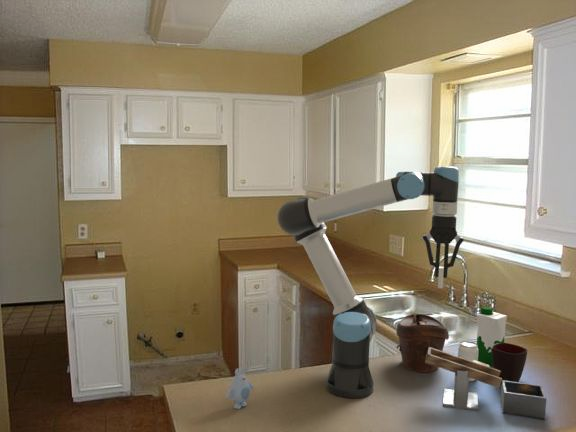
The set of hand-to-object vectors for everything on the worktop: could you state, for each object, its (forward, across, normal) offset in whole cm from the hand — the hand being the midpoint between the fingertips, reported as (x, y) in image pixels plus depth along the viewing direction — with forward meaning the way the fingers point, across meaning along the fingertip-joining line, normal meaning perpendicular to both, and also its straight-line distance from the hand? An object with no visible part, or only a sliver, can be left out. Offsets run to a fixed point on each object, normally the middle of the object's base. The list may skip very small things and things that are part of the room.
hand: (440, 287), depth 176 cm
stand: (+32, +8, -11) cm, 35 cm away
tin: (+32, +26, -11) cm, 43 cm away
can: (+33, +10, +8) cm, 35 cm away
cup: (+33, +24, +10) cm, 42 cm away
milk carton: (+33, +18, +26) cm, 45 cm away
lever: (+23, +8, -7) cm, 25 cm away
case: (+33, -6, +14) cm, 36 cm away
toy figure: (+33, -54, -38) cm, 74 cm away
